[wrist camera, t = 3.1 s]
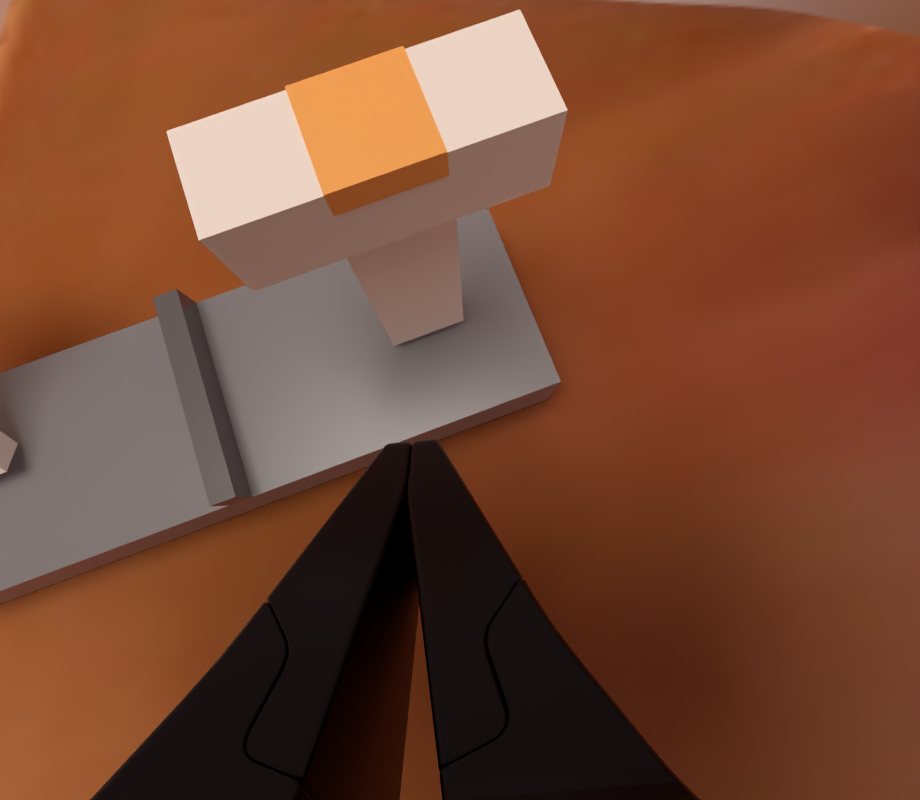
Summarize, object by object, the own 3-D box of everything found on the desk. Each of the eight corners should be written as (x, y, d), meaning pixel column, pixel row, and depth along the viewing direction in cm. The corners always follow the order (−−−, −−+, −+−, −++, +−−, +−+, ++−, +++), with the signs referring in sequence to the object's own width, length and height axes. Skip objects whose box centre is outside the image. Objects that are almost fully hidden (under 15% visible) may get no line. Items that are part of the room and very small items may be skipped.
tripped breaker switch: (520, 312, 17) (568, 108, 8) (345, 377, 17) (197, 240, 8) (497, 258, 17) (520, 5, 8) (325, 320, 17) (164, 127, 8)
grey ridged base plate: (548, 398, 20) (567, 372, 16) (-9, 607, 19) (-141, 636, 15) (483, 241, 21) (484, 179, 17) (-42, 430, 21) (-172, 413, 16)
